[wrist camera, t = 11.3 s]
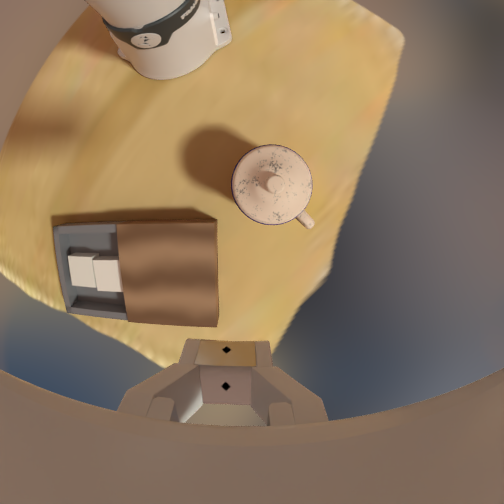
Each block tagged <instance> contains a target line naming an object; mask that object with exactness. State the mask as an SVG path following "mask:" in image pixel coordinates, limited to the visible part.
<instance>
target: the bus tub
mask: <svg viewBox="0 0 504 504" xmlns="http://www.w3.org/2000/svg"><path fill="white" fill-rule="evenodd" d="M123 222H126V221H108V222H84V223H65V224H61V225H57V226H54V227H53V232H54V242H55V250H56V258H57V265H58V271H59V277H60V282H61V287H62V292H63V297H64V302H65V306H66V310H67V313H72V314H79V315H87V316H95V317H103V318H112V319H121V320H128V317H127V312H126V306H125V300H124V293H123V292H111V291H98V290H97V287H96V288H93V287H83V286H73V285H72V281H71V275H70V268H69V261H68V256H69V255H71V254H73V253H76V252H79V253H99V257H100V256H119V252H118V240H117V226H116V225H117V224H120V223H123Z"/></svg>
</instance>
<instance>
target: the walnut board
mask: <svg viewBox="0 0 504 504" xmlns="http://www.w3.org/2000/svg"><path fill="white" fill-rule="evenodd" d="M116 226H117V240H118V252H119V262H120V271H121V279H122V286H123V293H124V300H125V306H126V312H127V317H128V322H136V323H147V324H161V325H176V326H196V327H217V324H218V318H219V297H218V253H217V220H139V221H126V222H123V223H120V224H117V225H116Z"/></svg>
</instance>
